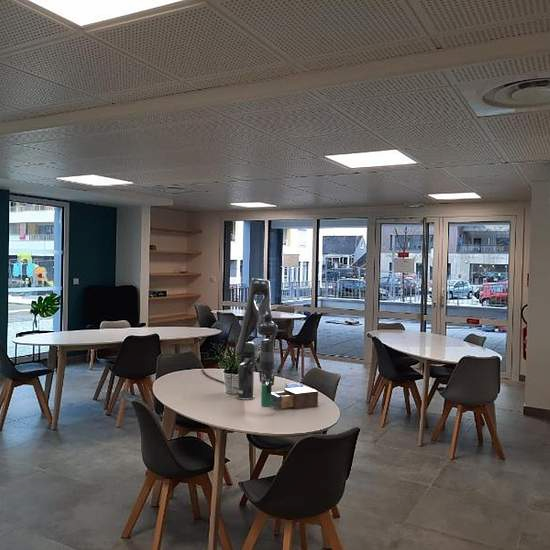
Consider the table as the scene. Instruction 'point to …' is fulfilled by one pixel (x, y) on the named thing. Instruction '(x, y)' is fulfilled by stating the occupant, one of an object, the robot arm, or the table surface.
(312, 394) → the cabinet
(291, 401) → the drawer
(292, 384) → the hippopotamus toy
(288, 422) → the table surface
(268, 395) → the can
